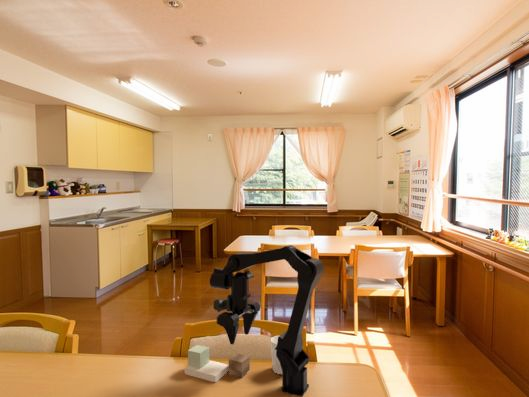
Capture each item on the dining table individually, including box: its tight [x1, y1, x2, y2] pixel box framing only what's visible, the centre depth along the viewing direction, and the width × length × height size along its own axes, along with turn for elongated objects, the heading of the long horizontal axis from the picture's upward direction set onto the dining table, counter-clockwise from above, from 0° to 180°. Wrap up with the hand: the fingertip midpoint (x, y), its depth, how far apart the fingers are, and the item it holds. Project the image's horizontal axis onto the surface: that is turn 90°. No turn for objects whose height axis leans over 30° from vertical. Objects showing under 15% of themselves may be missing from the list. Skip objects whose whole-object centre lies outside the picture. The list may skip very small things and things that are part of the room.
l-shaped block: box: [184, 344, 229, 384], centre depth 107 cm, size 12×8×7 cm, turn 64°
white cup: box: [270, 334, 282, 376], centre depth 109 cm, size 8×8×10 cm
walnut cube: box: [228, 353, 251, 379], centre depth 107 cm, size 5×5×5 cm
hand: (239, 339), depth 108 cm, fingers open, 9 cm apart
